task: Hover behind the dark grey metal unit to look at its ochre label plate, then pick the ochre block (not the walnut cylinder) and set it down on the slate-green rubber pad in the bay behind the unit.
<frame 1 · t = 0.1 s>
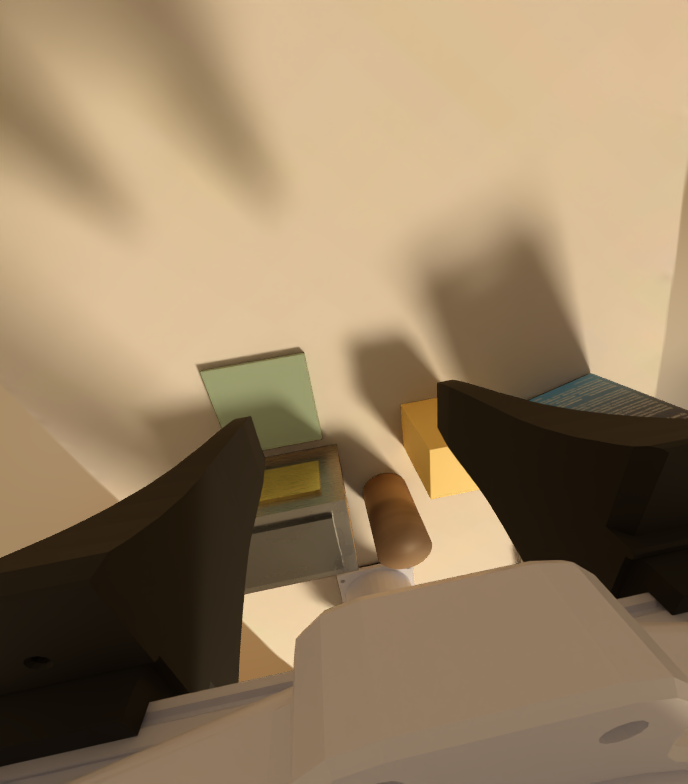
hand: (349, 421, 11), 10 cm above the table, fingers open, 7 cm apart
ochre block: (425, 421, 24), on the table
label tape box: (539, 408, 25), on the table
pad: (266, 405, 21), on the table
unit: (290, 487, 25), on the table
walnut cylinder: (384, 490, 26), on the table
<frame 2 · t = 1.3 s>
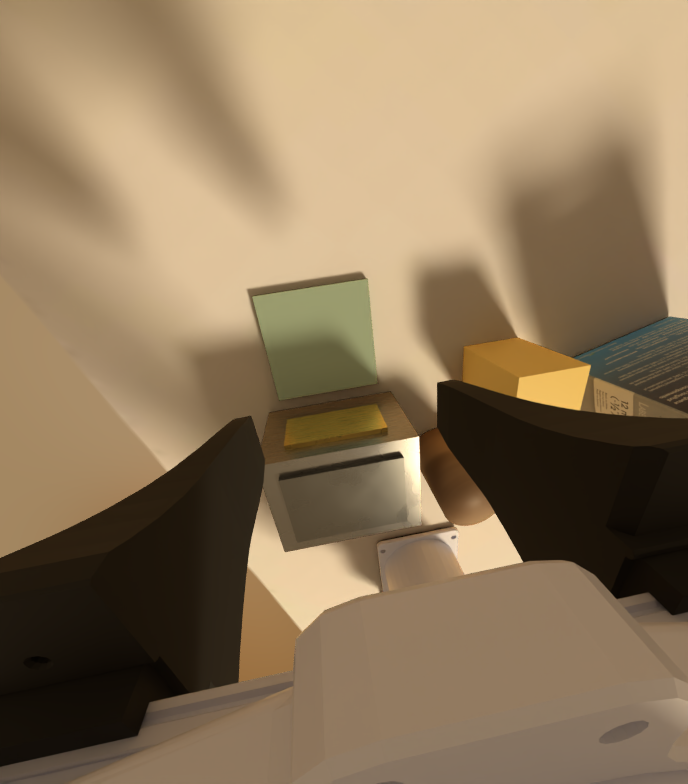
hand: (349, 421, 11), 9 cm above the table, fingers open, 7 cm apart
ochre block: (488, 367, 22), on the table
label tape box: (609, 357, 23), on the table
pad: (320, 342, 19), on the table
unit: (337, 441, 23), on the table
walnut cylinder: (436, 448, 24), on the table
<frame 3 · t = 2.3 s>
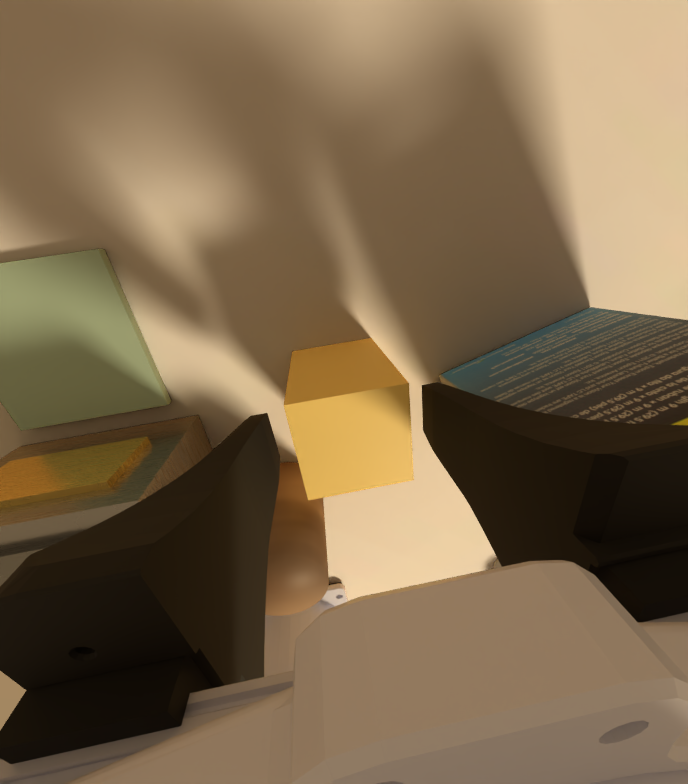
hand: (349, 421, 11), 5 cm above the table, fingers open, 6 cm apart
ochre block: (337, 380, 15), on the table
label tape box: (514, 365, 17), on the table, touching gripper
pad: (62, 346, 13), on the table
unit: (139, 482, 16), on the table
walnut cylinder: (289, 488, 18), on the table
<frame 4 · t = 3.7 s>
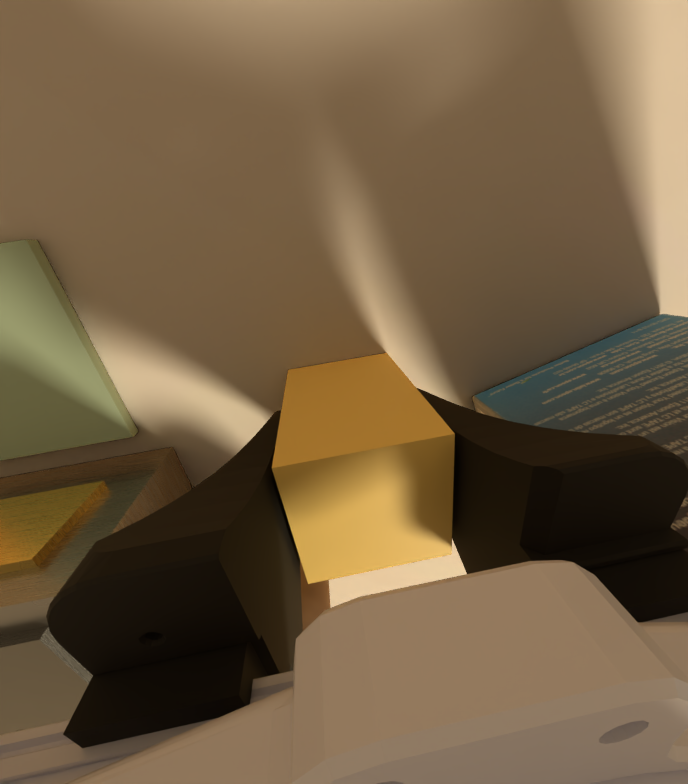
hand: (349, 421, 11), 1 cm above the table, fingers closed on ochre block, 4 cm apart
ochre block: (344, 404, 13), on the table, touching gripper
label tape box: (562, 383, 14), on the table
unit: (104, 525, 14), on the table
walnut cylinder: (286, 527, 15), on the table
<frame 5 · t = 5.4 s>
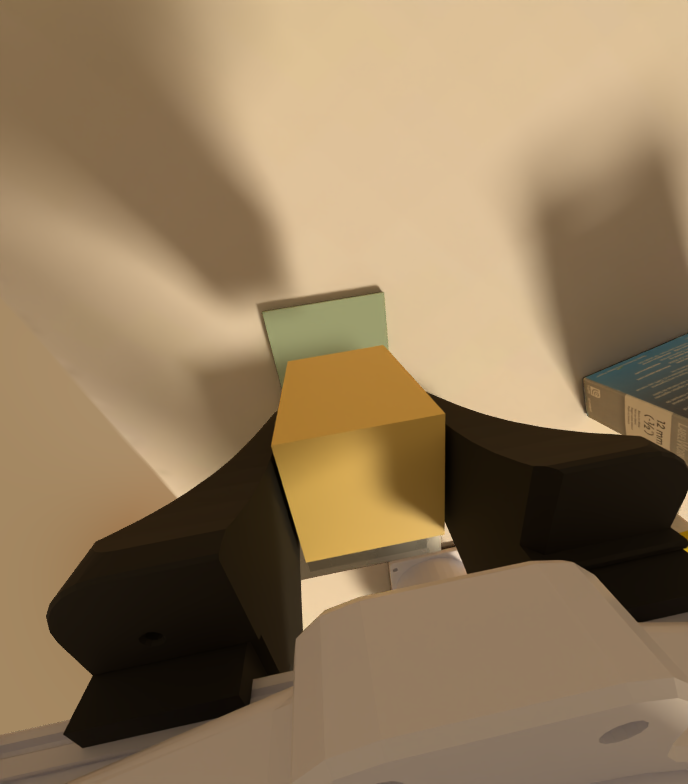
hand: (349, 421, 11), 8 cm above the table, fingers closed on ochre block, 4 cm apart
ochre block: (342, 396, 13), point 6 cm above the table, touching gripper
label tape box: (636, 370, 22), on the table
pad: (332, 358, 18), on the table
unit: (349, 459, 22), on the table
when the fingers open (3 cm above the table, at t = 7.0 s): ochre block stays where it is, resting on pad.
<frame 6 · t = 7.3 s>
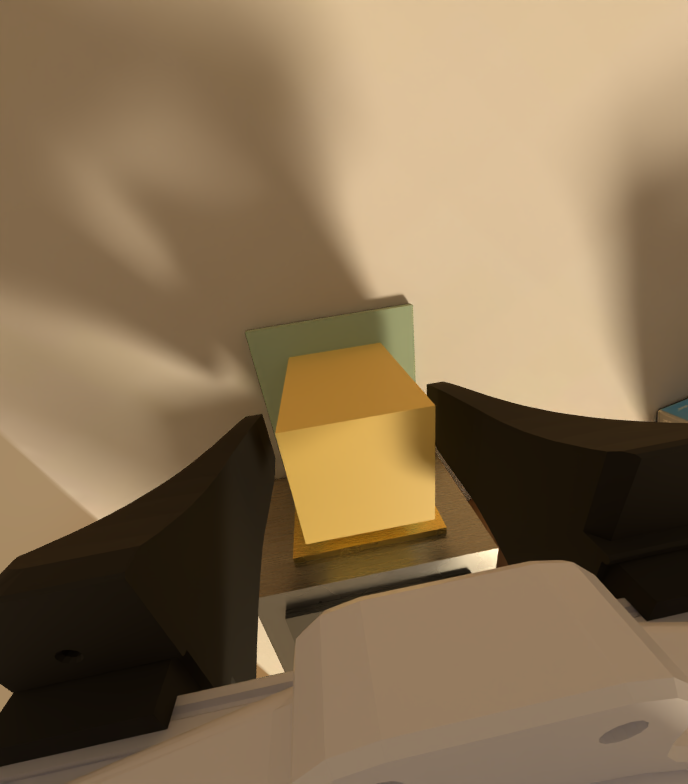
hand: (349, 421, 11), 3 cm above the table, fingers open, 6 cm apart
ochre block: (341, 391, 13), resting on pad
pad: (341, 390, 14), on the table
unit: (360, 511, 17), on the table
walnut cylinder: (486, 514, 19), on the table
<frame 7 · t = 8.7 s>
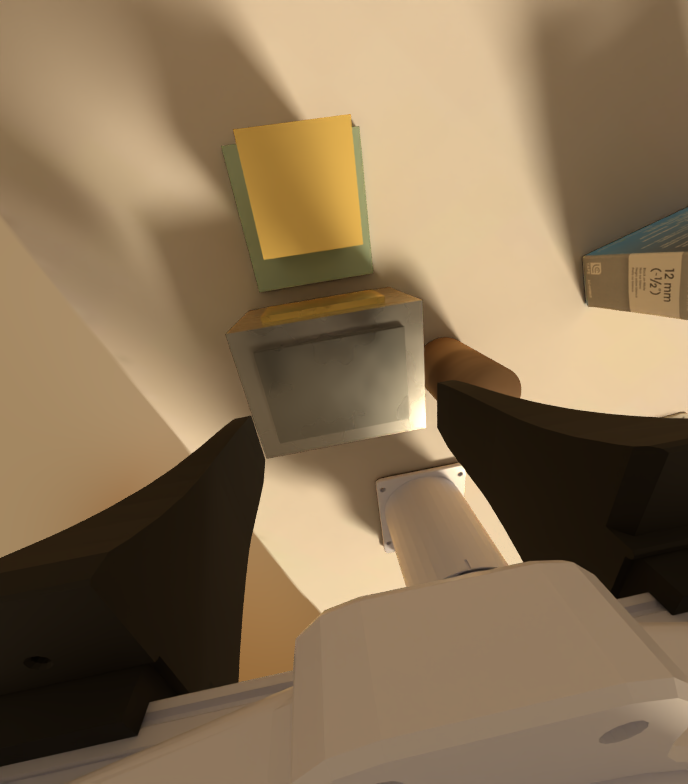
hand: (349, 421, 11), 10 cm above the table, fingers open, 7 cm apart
ochre block: (304, 213, 16), resting on pad
label tape box: (640, 251, 20), on the table
pad: (305, 217, 17), on the table
unit: (328, 350, 20), on the table
walnut cylinder: (440, 363, 22), on the table
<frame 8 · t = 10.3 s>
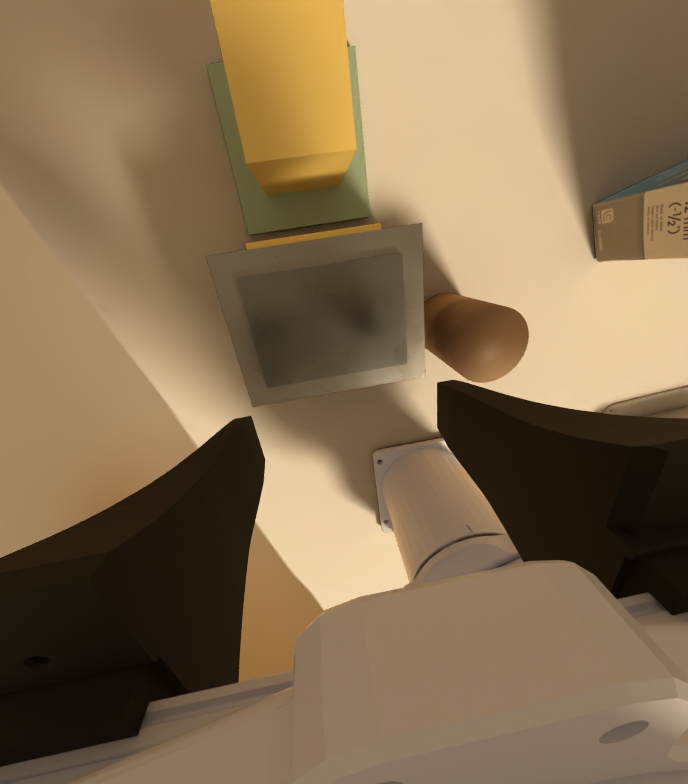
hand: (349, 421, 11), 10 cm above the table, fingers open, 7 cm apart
ochre block: (296, 144, 15), resting on pad
emergency button: (627, 456, 29), on the table
label tape box: (654, 202, 19), on the table
pad: (297, 151, 15), on the table
unit: (322, 305, 19), on the table
walnut cylinder: (441, 323, 20), on the table
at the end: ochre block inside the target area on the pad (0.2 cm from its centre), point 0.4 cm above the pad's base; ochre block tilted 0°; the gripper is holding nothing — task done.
